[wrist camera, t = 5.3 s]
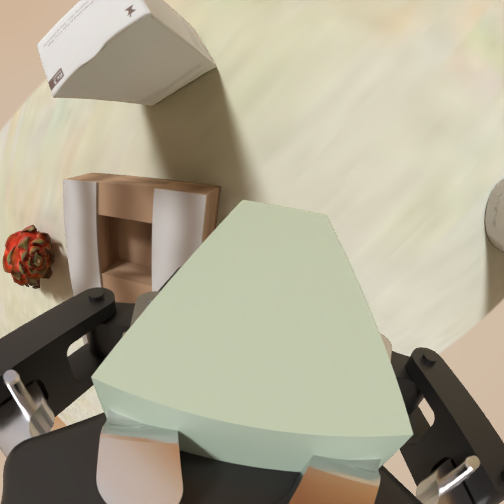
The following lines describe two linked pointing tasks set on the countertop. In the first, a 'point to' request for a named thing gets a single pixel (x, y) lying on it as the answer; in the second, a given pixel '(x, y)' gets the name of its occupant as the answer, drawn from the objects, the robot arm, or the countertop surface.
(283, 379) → the square peg
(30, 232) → the dragon fruit
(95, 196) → the block
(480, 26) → the countertop surface
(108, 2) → the skincare box
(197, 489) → the robot arm
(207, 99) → the countertop surface
